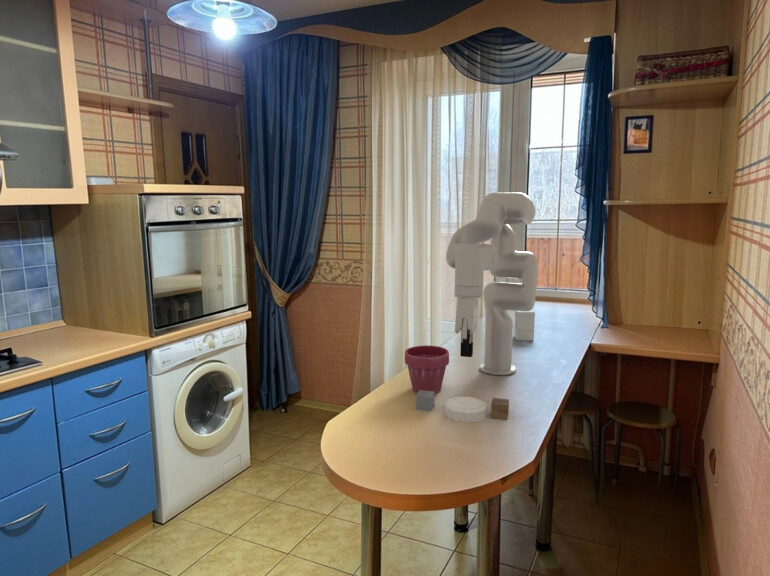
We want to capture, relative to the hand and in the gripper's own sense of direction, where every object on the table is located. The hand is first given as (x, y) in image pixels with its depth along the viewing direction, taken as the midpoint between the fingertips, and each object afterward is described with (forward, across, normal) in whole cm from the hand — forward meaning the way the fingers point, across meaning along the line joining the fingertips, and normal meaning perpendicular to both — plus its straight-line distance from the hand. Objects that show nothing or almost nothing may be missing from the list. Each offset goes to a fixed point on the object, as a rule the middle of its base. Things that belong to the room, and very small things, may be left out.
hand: (466, 355), depth 152 cm
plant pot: (+17, -17, -15) cm, 28 cm away
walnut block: (+17, -2, +10) cm, 20 cm away
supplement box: (+16, -89, +12) cm, 91 cm away
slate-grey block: (+17, -2, -12) cm, 21 cm away
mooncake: (+18, -1, 0) cm, 18 cm away
